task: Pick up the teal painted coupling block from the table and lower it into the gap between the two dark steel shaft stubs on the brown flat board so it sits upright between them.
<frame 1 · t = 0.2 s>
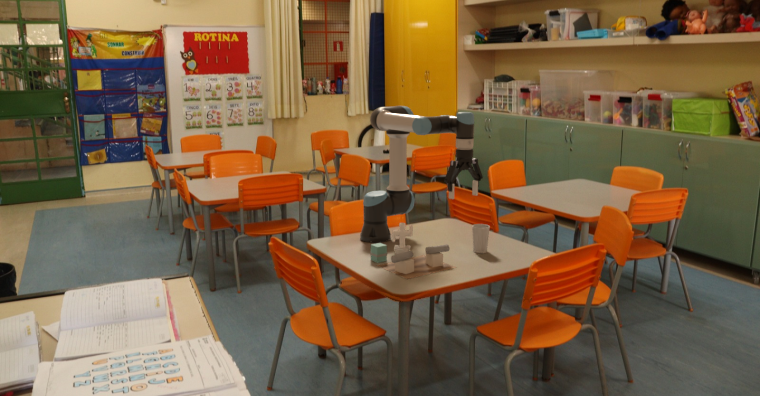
hand: (463, 196, 271), 28 cm above the table, fingers open, 13 cm apart
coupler: (378, 262, 271), on the table
figurine: (402, 255, 281), on the table
shaft a: (434, 264, 265), resting on brown flat board
cup: (480, 251, 287), on the table
shaft b: (404, 271, 256), resting on brown flat board
brown flat board: (416, 268, 262), on the table
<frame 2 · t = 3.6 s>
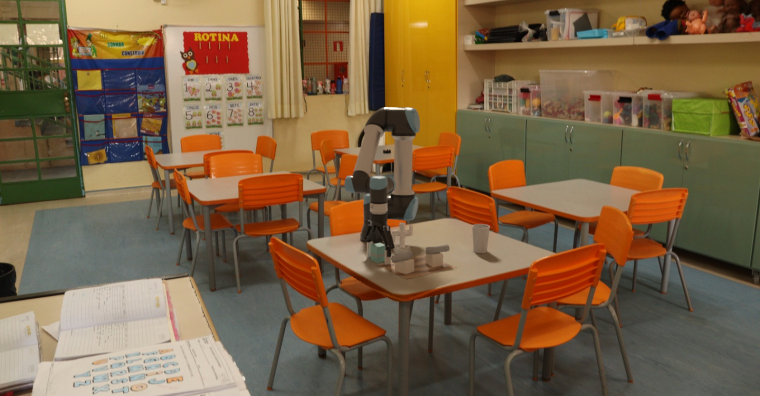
hand: (378, 260, 270), 1 cm above the table, fingers open, 13 cm apart
nothing on the table moved.
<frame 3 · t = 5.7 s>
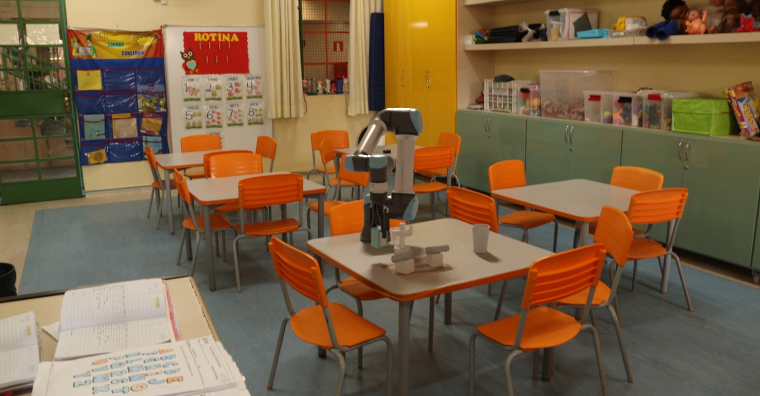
hand: (379, 243, 270), 8 cm above the table, fingers closed on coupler, 5 cm apart
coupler: (379, 245, 270), point 7 cm above the table, touching gripper
everything else where it was.
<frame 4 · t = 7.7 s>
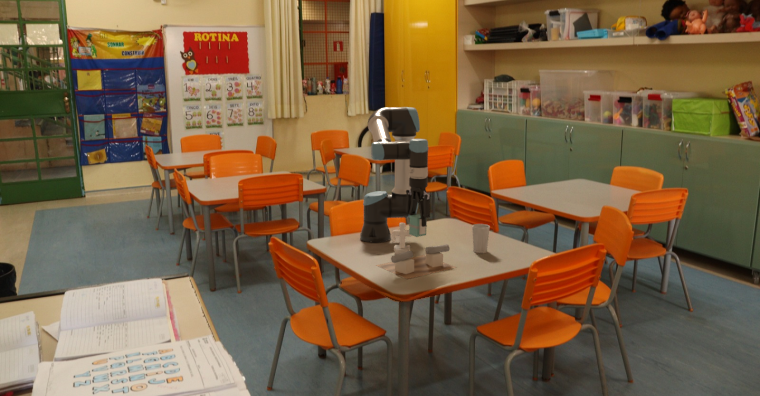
hand: (417, 232, 258), 16 cm above the table, fingers closed on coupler, 5 cm apart
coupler: (417, 234, 258), point 15 cm above the table, touching gripper
everything else where it was.
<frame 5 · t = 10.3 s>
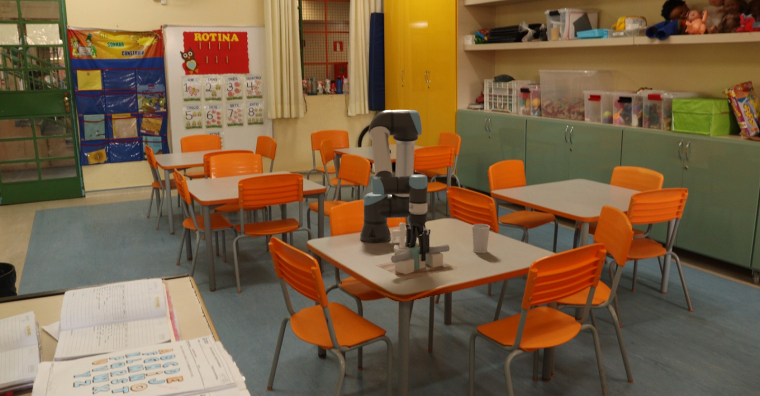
hand: (417, 266, 261), 1 cm above the table, fingers closed on brown flat board, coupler, 5 cm apart
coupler: (417, 266, 261), point 1 cm above the table, touching brown flat board, gripper
everything else where it was.
when the fingers open (1 cm above the table, at t = 11.1 s): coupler stays where it is, resting on brown flat board.
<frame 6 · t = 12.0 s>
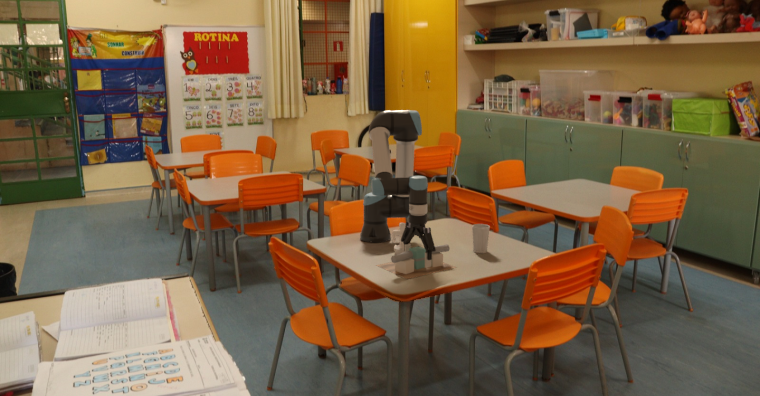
hand: (417, 263, 261), 3 cm above the table, fingers open, 13 cm apart
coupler: (417, 266, 261), point 1 cm above the table, touching brown flat board
everything else where it was.
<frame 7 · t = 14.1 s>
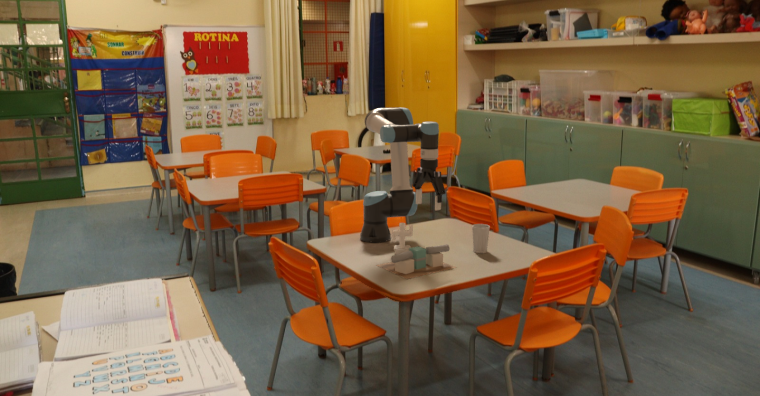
hand: (428, 206, 270), 24 cm above the table, fingers open, 13 cm apart
nothing on the table moved.
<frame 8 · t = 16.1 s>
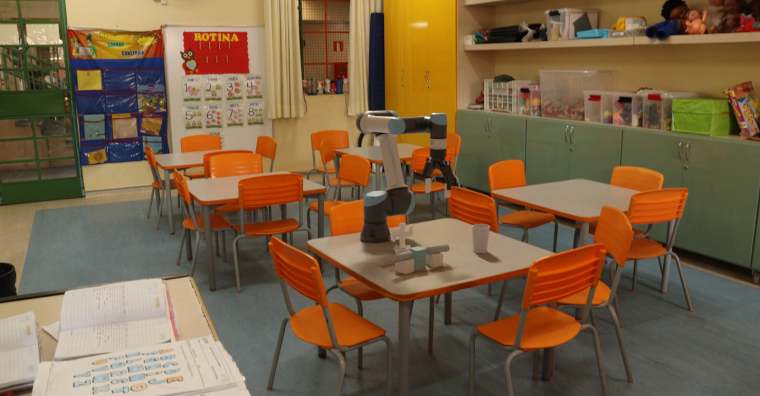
hand: (437, 194, 281), 27 cm above the table, fingers open, 13 cm apart
nothing on the table moved.
at the end: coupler 0.1 cm from the target spot on the brown flat board, point 1.0 cm above the brown flat board's base; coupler tilted 0°; the gripper is holding nothing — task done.
